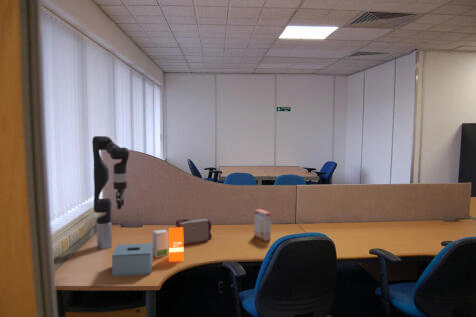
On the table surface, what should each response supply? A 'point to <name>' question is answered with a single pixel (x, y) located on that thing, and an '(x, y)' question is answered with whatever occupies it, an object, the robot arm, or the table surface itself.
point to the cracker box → (262, 224)
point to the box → (132, 259)
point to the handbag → (195, 230)
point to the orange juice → (176, 244)
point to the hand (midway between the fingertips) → (120, 207)
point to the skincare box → (160, 243)
